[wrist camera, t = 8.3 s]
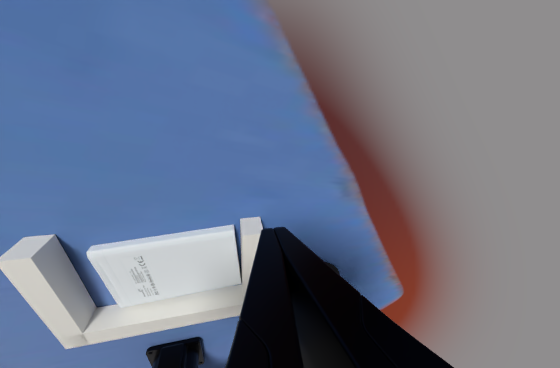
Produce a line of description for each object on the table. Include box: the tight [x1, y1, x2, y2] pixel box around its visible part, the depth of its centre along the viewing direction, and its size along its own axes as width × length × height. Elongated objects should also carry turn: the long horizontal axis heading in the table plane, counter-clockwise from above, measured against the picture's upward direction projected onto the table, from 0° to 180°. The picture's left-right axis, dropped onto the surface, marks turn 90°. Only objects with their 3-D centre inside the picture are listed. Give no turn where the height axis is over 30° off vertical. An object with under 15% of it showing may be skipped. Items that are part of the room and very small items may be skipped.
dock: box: [0, 217, 263, 349], centre depth 20 cm, size 12×19×2 cm, turn 86°
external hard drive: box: [87, 225, 242, 308], centre depth 21 cm, size 2×8×12 cm
